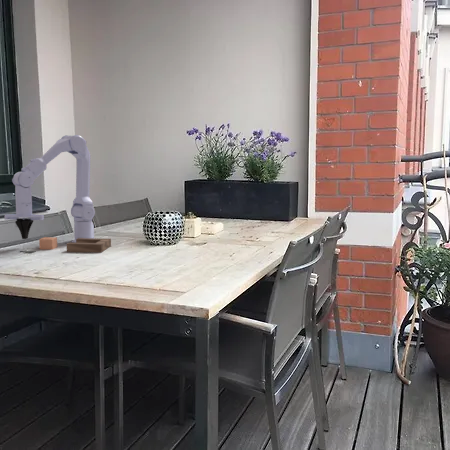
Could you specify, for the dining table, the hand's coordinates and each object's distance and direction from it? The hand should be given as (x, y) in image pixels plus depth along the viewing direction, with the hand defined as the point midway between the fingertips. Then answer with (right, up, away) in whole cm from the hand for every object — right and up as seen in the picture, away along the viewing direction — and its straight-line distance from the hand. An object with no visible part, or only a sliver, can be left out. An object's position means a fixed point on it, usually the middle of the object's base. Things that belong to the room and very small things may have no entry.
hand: (25, 238), depth 197 cm
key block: (+9, -4, 0) cm, 10 cm away
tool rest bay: (+25, -4, 0) cm, 25 cm away
